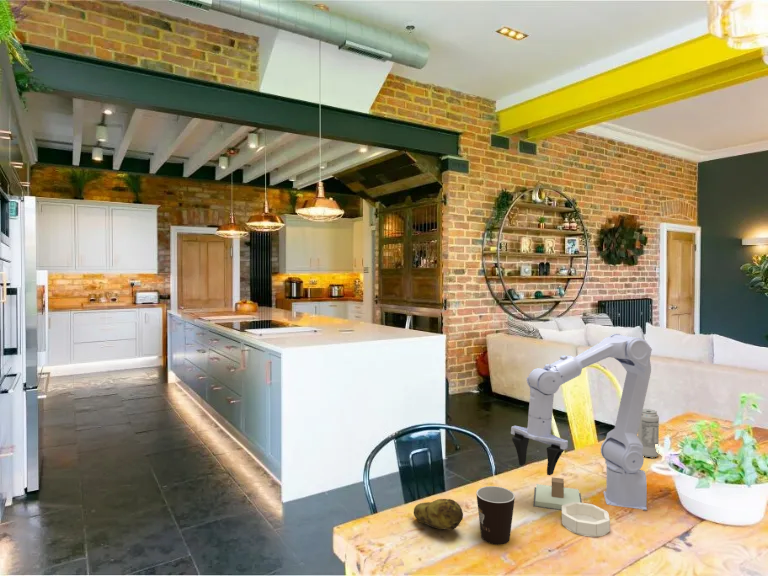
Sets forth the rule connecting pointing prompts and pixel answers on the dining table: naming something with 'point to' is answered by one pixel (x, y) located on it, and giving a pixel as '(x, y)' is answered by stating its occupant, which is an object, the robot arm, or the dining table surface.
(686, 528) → the dining table surface
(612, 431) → the robot arm
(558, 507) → the lid
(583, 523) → the dish
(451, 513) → the potato
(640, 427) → the energy drink can
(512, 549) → the dining table surface
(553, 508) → the mat
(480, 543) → the dining table surface
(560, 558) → the dining table surface
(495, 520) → the coffee mug
